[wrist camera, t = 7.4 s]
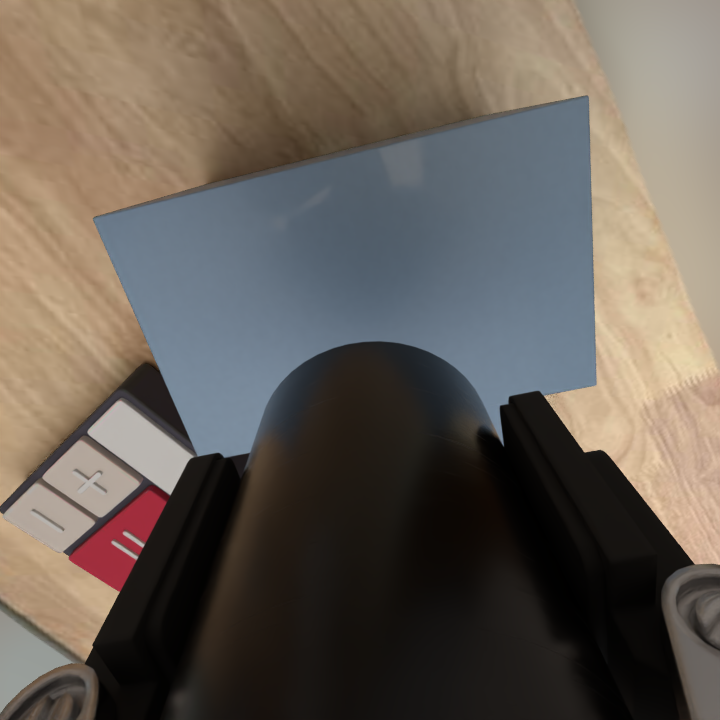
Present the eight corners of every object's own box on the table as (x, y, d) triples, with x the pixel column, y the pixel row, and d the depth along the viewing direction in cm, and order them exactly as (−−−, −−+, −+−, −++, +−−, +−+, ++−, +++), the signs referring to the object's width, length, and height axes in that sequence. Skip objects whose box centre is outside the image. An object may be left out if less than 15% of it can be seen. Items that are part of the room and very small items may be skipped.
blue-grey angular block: (205, 184, 28) (91, 217, 16) (485, 115, 26) (589, 94, 14) (307, 485, 37) (283, 651, 25) (520, 446, 35) (603, 602, 23)
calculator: (-13, 518, 33) (113, 392, 28) (28, 477, 37) (145, 360, 32) (120, 602, 36) (254, 502, 32) (145, 555, 40) (267, 460, 35)
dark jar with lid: (218, 363, 10) (-349, 1288, 2) (481, 307, 10) (1151, 1222, 2) (291, 553, 12) (165, 1353, 4) (507, 516, 12) (831, 1334, 4)
